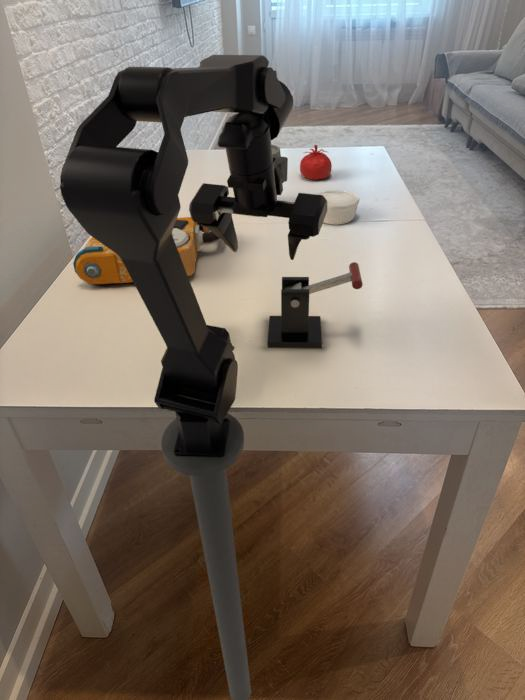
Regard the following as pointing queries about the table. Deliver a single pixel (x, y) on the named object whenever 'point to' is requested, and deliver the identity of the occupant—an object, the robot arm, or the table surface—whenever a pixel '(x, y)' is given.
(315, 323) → the bracket
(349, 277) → the lever
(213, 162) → the table surface
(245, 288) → the table surface
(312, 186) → the table surface
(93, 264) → the device
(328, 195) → the ramekin
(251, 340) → the table surface
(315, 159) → the red tomato
